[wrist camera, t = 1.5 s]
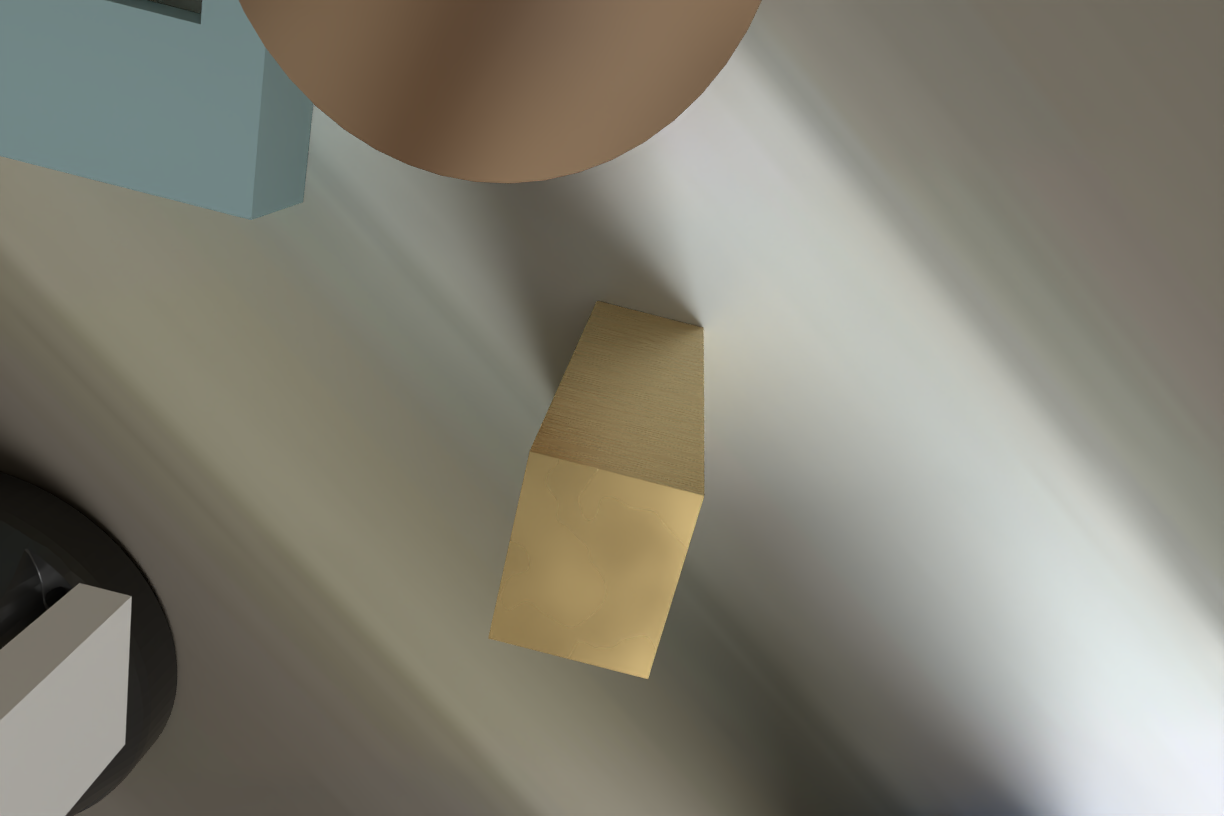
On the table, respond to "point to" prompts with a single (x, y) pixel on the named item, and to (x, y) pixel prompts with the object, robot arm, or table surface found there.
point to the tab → (609, 496)
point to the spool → (502, 75)
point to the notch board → (153, 101)
